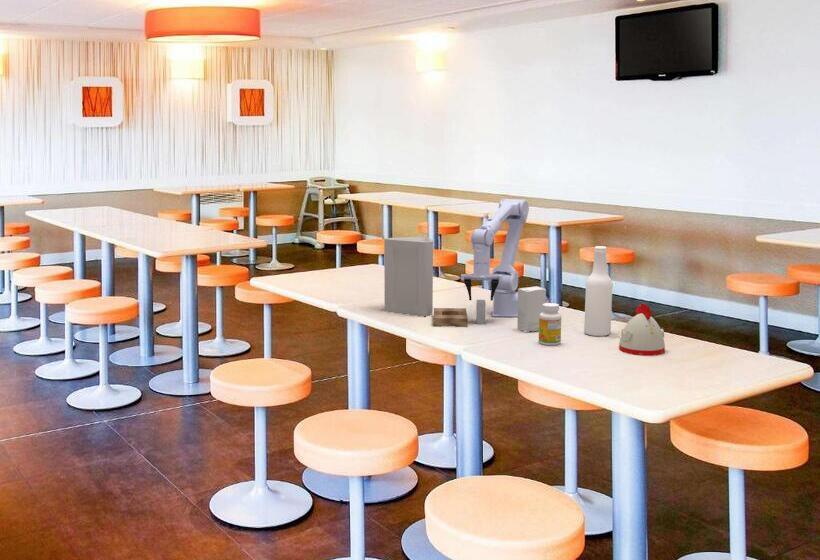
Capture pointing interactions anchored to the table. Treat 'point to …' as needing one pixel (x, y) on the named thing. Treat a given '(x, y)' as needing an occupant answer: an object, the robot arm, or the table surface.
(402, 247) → the tall grey carton
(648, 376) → the table surface
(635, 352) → the kitchen timer
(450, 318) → the well block
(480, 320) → the brushed metal block
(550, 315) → the supplement bottle
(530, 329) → the skincare box
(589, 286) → the alcohol
